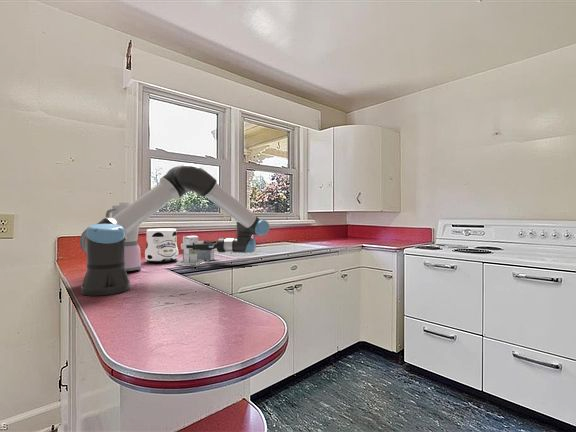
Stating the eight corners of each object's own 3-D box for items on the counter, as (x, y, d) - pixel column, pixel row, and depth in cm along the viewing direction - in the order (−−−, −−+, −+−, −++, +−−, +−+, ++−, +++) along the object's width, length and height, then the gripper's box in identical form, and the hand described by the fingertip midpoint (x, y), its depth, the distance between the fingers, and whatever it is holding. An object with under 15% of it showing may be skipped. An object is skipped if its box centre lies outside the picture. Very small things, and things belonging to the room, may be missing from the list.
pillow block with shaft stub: (214, 261, 178) (213, 243, 178) (193, 260, 180) (193, 243, 179) (217, 259, 184) (217, 242, 184) (197, 259, 186) (197, 242, 185)
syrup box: (192, 262, 172) (191, 235, 172) (198, 263, 169) (198, 236, 168) (182, 263, 168) (182, 236, 168) (189, 264, 164) (188, 236, 164)
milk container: (168, 264, 166) (168, 230, 166) (138, 264, 169) (137, 230, 169) (184, 259, 184) (183, 228, 183) (156, 259, 186) (156, 228, 186)
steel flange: (196, 266, 162) (196, 263, 162) (174, 265, 163) (174, 262, 163) (205, 262, 174) (205, 259, 174) (184, 262, 175) (184, 259, 175)
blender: (129, 268, 157) (129, 203, 156) (146, 270, 151) (146, 202, 150) (98, 273, 143) (97, 202, 142) (115, 276, 137) (114, 202, 136)
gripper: (218, 256, 154) (176, 255, 156) (232, 249, 179) (196, 249, 181) (218, 240, 154) (176, 240, 156) (232, 236, 179) (195, 235, 181)
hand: (186, 244), depth 168 cm, fingers open, 13 cm apart
